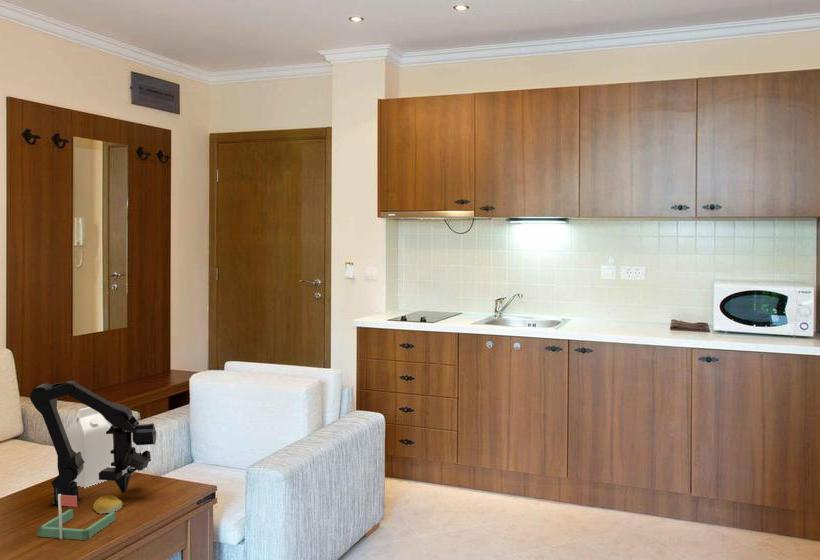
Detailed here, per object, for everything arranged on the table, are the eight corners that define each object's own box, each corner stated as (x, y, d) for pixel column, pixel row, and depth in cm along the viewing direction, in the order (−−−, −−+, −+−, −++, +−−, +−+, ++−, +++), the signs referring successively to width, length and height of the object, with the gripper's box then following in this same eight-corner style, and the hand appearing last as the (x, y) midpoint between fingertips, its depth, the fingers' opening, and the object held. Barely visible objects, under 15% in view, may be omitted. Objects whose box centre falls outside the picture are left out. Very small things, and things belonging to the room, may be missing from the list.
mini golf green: (36, 537, 204) (34, 493, 203) (69, 517, 219) (68, 475, 218) (84, 541, 201) (82, 496, 201) (115, 520, 216) (114, 478, 215)
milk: (94, 472, 260) (92, 402, 258) (115, 477, 254) (112, 406, 252) (64, 482, 250) (61, 409, 248) (85, 488, 244) (82, 413, 242)
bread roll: (99, 517, 219) (99, 504, 219) (90, 508, 226) (90, 496, 226) (126, 510, 225) (126, 497, 224) (117, 502, 231) (116, 490, 231)
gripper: (129, 455, 223) (130, 504, 224) (160, 438, 241) (161, 483, 242) (96, 454, 224) (98, 502, 225) (129, 437, 243) (131, 482, 244)
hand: (124, 492), depth 234 cm, fingers closed
